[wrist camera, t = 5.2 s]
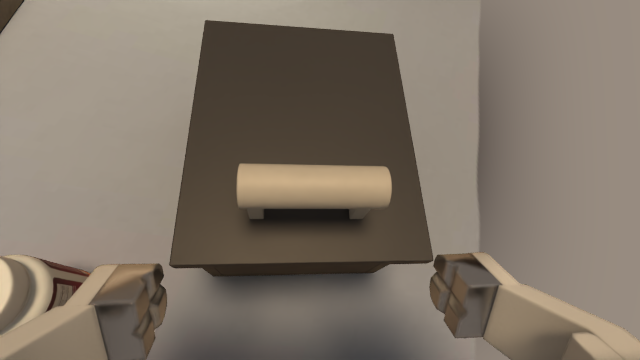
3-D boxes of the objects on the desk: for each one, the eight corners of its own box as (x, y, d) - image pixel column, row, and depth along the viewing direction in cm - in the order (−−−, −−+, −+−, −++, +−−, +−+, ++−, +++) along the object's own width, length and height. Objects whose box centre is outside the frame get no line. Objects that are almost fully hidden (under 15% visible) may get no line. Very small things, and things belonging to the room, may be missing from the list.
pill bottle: (16, 301, 22) (-119, 289, 15) (85, 256, 24) (-4, 225, 16) (47, 359, 21) (-82, 380, 14) (117, 308, 23) (38, 301, 15)
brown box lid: (427, 263, 17) (484, 240, 12) (173, 268, 15) (128, 244, 11) (389, 42, 23) (418, -28, 18) (207, 30, 21) (188, -51, 17)
